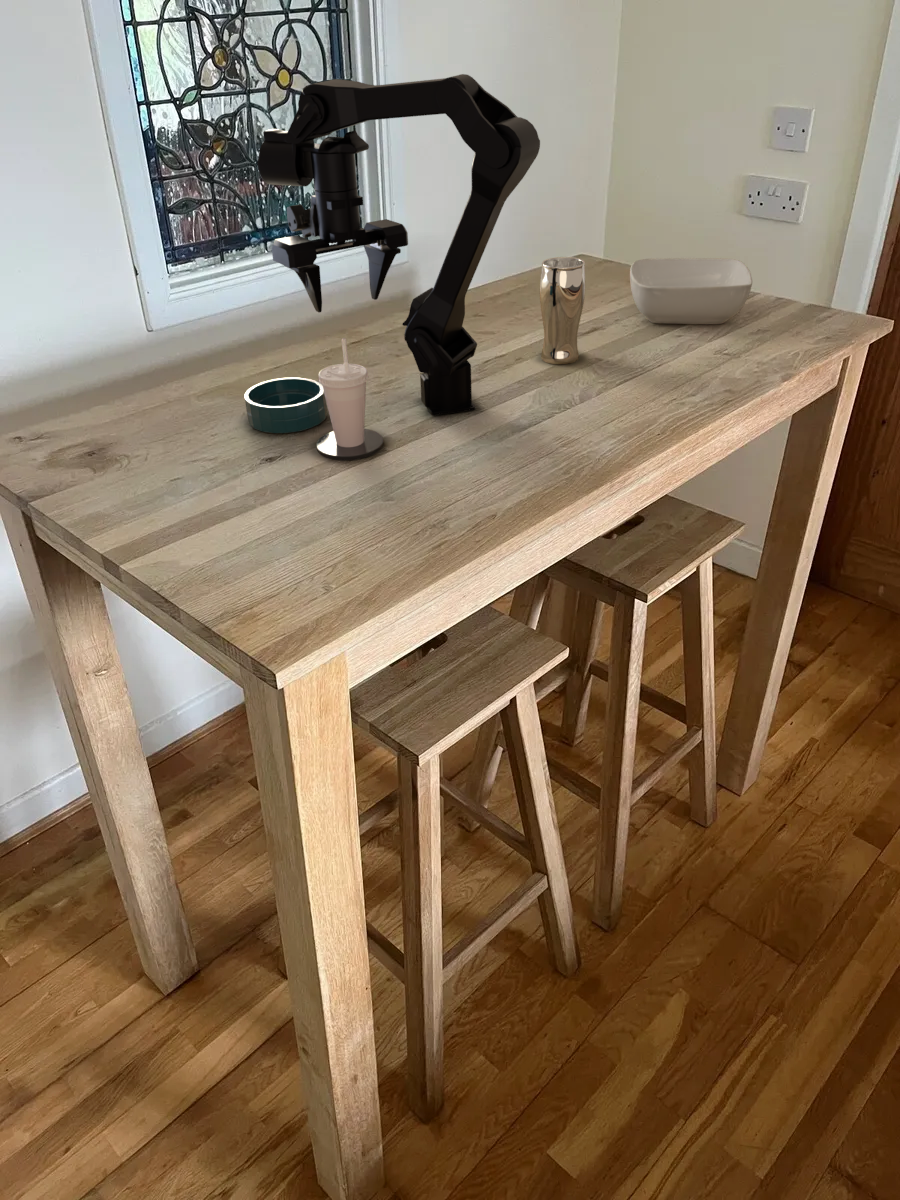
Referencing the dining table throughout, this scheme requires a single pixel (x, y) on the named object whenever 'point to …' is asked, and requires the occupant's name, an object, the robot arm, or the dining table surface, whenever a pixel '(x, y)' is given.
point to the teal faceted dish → (285, 405)
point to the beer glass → (561, 307)
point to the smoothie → (345, 399)
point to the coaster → (333, 451)
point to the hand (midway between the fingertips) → (347, 305)
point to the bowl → (689, 289)
